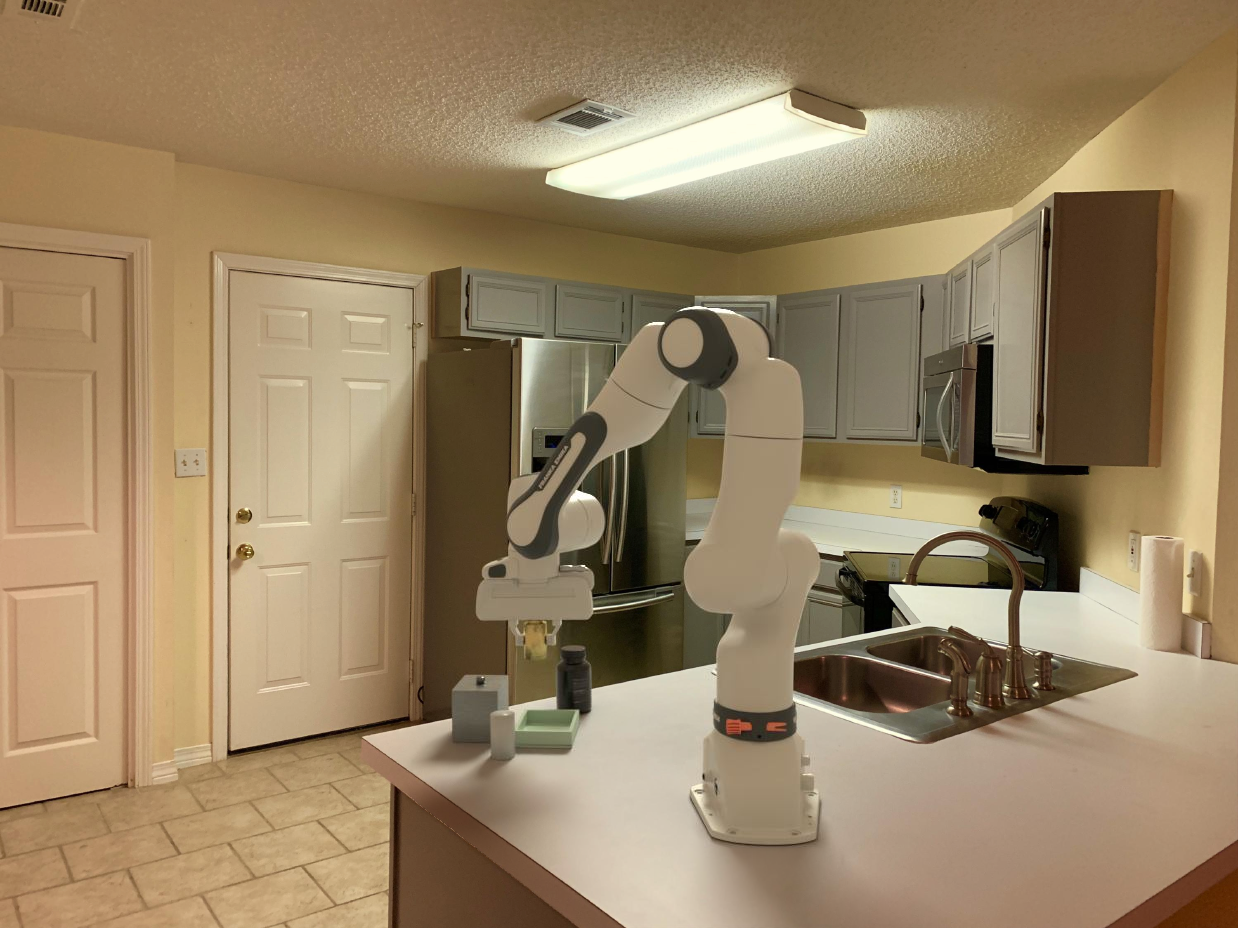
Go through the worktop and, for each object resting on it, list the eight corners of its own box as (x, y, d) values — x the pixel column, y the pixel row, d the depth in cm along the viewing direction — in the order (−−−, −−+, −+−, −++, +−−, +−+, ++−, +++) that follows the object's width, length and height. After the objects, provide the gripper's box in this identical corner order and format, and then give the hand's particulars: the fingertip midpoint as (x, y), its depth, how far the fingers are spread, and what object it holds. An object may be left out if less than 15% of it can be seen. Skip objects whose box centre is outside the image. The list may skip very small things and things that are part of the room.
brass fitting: (545, 659, 155) (545, 620, 154) (522, 660, 155) (521, 620, 155) (548, 654, 159) (547, 615, 158) (526, 654, 159) (525, 616, 159)
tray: (571, 748, 152) (571, 731, 152) (513, 746, 153) (513, 730, 153) (579, 724, 164) (579, 709, 164) (525, 723, 165) (524, 708, 165)
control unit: (498, 742, 155) (497, 685, 155) (452, 741, 156) (451, 684, 155) (509, 722, 166) (508, 669, 165) (466, 722, 166) (465, 668, 166)
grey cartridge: (512, 760, 147) (512, 717, 147) (488, 759, 147) (488, 717, 147) (517, 751, 151) (516, 710, 151) (493, 751, 151) (493, 709, 151)
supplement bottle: (593, 704, 177) (593, 643, 176) (589, 715, 170) (589, 652, 169) (559, 703, 177) (558, 643, 177) (553, 714, 170) (552, 651, 170)
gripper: (595, 562, 159) (596, 640, 159) (480, 563, 160) (481, 641, 160) (592, 567, 153) (594, 648, 153) (472, 568, 153) (474, 649, 154)
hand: (535, 644), depth 157 cm, fingers closed on brass fitting, 4 cm apart
